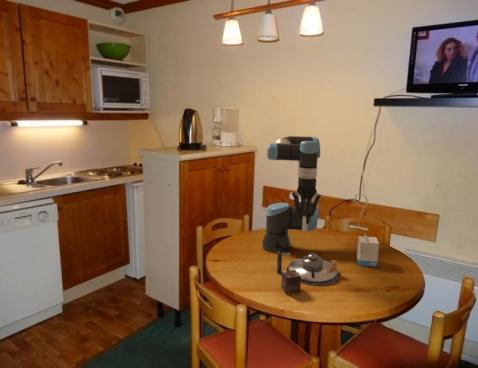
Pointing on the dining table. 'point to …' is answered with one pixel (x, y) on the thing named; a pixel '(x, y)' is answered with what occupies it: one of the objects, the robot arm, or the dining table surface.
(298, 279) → the box
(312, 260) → the cover
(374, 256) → the ink box
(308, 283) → the plinth
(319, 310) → the dining table surface
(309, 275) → the turntable
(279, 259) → the indicator post
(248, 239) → the dining table surface
